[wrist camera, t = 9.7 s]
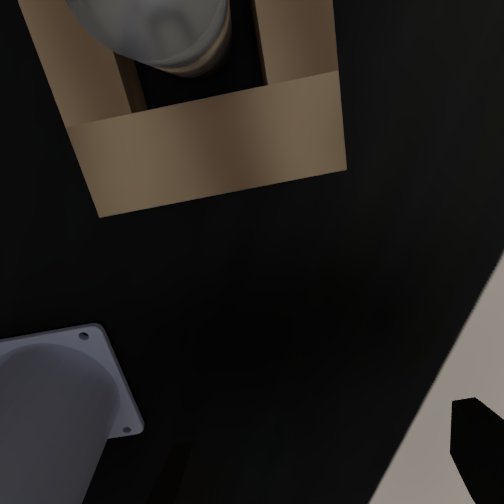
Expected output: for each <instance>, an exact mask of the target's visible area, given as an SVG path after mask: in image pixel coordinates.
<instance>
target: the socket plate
mask: <svg viewBox="0 0 504 504" xmlns="http://www.w3.org/2000/svg"><path fill="white" fill-rule="evenodd" d="M18 2H19V5H20V7H21V10H22V13H23V15H24V18H25V21H26V23H27V26H28V29H29V31H30V34H31V37H32V39H33V42H34V45H35V47H36V50H37V53H38V55H39V58H40V61H41V63H42V66H43V69H44V71H45V74H46V76H47V79H48V82H49V84H50V87H51V90H52V92H53V95H54V98H55V100H56V103H57V106H58V108H59V111H60V114H61V116H62V119H63V122H64V124H65V127H66V130H67V132H68V135H69V138H70V140H71V143H72V146H73V148H74V151H75V154H76V156H77V159H78V162H79V164H80V167H81V169H82V172H83V175H84V177H85V180H86V183H87V185H88V188H89V191H90V193H91V196H92V199H93V201H94V204H95V207H96V209H97V212H98V215H99V217H105V216H110V215H116V214H121V213H126V212H131V211H136V210H141V209H146V208H152V207H157V206H162V205H167V204H172V203H177V202H182V201H188V200H193V199H198V198H203V197H208V196H213V195H218V194H224V193H229V192H234V191H239V190H244V189H249V188H254V187H260V186H265V185H270V184H275V183H280V182H285V181H290V180H296V179H301V178H306V177H311V176H316V175H321V174H326V173H332V172H337V171H342V170H347V167H346V155H345V143H344V132H343V120H342V108H341V96H340V84H339V73H338V61H337V49H336V37H335V25H334V13H333V2H332V0H250V3H251V9H252V15H253V21H254V28H255V34H256V40H257V46H258V52H259V59H260V65H261V71H262V77H263V83H264V86H261V87H257V88H252V89H247V90H242V91H237V92H233V93H228V94H223V95H218V96H214V97H209V98H204V99H199V100H194V101H190V102H185V103H180V104H175V105H170V106H166V107H161V108H156V109H151V110H148V108H147V104H146V101H145V97H144V94H143V90H142V87H141V83H140V80H139V76H138V73H137V69H136V65H135V62H134V60H133V59H131V58H128V57H125V56H122V55H120V54H117V53H116V52H114V51H112V50H110V49H108V48H107V47H105V46H104V45H102V44H101V43H99V42H98V41H97V40H96V39H95V38H93V37H92V36H91V35H90V34H89V33H88V32H87V31H86V30H85V28H84V27H83V26H82V25H81V24H80V23H79V21H78V20H77V18H76V17H75V16H74V14H73V13H72V11H71V9H70V7H69V6H68V4H67V2H66V0H18Z"/></svg>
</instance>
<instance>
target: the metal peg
mask: <svg viewBox="0 0 504 504" xmlns="http://www.w3.org/2000/svg"><path fill="white" fill-rule="evenodd" d="M66 2H67V4H68V6H69V7H70V9H71V11H72V13H73V14H74V16H75V17H76V18H77V20H78V21H79V23H80V24H81V25H82V26H83V27H84V28H85V30H86V31H87V32H88V33H89V34H90V35H91V36H92V37H93V38H95V39H96V40H97V41H98V42H99V43H101V44H102V45H104V46H105V47H107V48H108V49H110V50H112V51H114V52H116V53H117V54H120V55H122V56H125V57H128V58H131V59H133V60H136V61H139V62H141V63H144V64H147V65H149V66H152V67H155V68H157V69H160V70H163V71H165V72H168V73H171V74H174V75H176V76H179V77H182V78H184V79H188V80H202V79H206V78H209V77H211V76H213V75H214V74H216V73H217V72H218V71H219V70H220V69H221V68H222V67H223V66H224V65H225V63H226V62H227V60H228V58H229V55H230V53H231V49H232V44H233V28H232V21H231V13H230V5H229V0H66Z"/></svg>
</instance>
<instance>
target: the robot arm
mask: <svg viewBox="0 0 504 504" xmlns="http://www.w3.org/2000/svg"><path fill="white" fill-rule="evenodd" d="M82 332H85V333H87V334H88V335H89V336H86V335H84V334H83V333H82ZM451 418H452V419H451V441H450V454H451V456H452V458H453V460H454V462H455V465H456V467H457V469H458V471H459V473H460V475H461V477H462V479H463V481H464V483H465V485H466V487H467V489H468V491H469V493H470V495H471V497H472V499H473V500H474V502H475V503H476V504H504V420H503V419H502V418H501V417H500V416H498V415H497V414H496V413H495V412H493V411H492V410H491V409H490V408H488V407H487V406H486V405H484V404H483V403H482V402H481V401H479V400H478V399H476V398H475V397H474V398H468V399H462V400H455V401H452V416H451ZM128 427H129V428H128ZM143 428H144V421H143V419H142V416H141V414H140V412H139V409H138V407H137V405H136V402H135V400H134V398H133V395H132V393H131V391H130V388H129V386H128V384H127V381H126V379H125V377H124V374H123V372H122V370H121V367H120V365H119V362H118V360H117V358H116V355H115V353H114V351H113V348H112V346H111V344H110V341H109V339H108V337H107V334H106V332H105V330H104V328H103V327H102V326H101V325H100V324H97V323H90V324H84V325H79V326H73V327H67V328H62V329H56V330H51V331H45V332H39V333H34V334H28V335H23V336H17V337H11V338H6V339H0V504H82V502H83V499H84V497H85V494H86V492H87V489H88V487H89V484H90V482H91V479H92V477H93V474H94V472H95V469H96V467H97V464H98V462H99V459H100V457H101V454H102V452H103V449H104V447H105V444H106V442H107V439H109V438H115V437H121V436H127V435H134V434H138V433H141V432H142V431H143ZM143 504H210V486H209V484H208V481H207V478H206V475H205V472H204V470H203V467H202V464H201V461H200V459H199V456H198V453H197V450H196V448H195V445H194V442H190V443H183V444H177V445H172V447H171V448H170V449H169V451H168V454H167V456H166V458H165V460H164V462H163V464H162V466H161V469H160V471H159V473H158V475H157V477H156V479H155V481H154V483H153V485H152V487H151V489H150V491H149V493H148V495H147V497H146V499H145V501H144V503H143Z"/></svg>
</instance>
